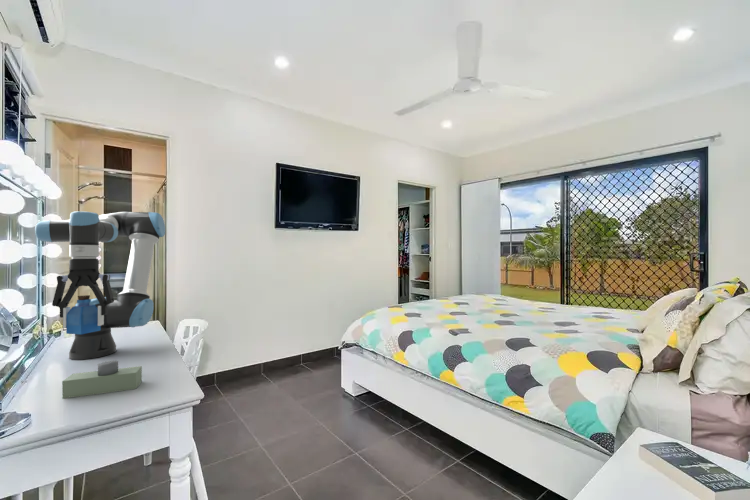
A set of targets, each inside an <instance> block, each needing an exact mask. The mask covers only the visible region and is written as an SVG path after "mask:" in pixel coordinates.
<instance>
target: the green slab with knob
mask: <svg viewBox="0 0 750 500" xmlns="http://www.w3.org/2000/svg"><path fill="white" fill-rule="evenodd" d="M142 370H143V367H142V365H141V366H140V365H139V366H132V367H122V368H119V360H108V361H103V362H100V363H98V364H97V370H95V371H86V372H77V373H76V372H75V373H72V374H70V375H69V376H67V377H66V378H65V379H63V380H62V385H61V387H62V388H61V389H62V392H61V393H62V397H61V398H62V399H69V398H76V397H82V396H83V397H85V396H91V395H99V394H108V393H114V392H121V391H123V392H124V391H129V390H137V388H138V387H139V386H140V384H141V383H142V381H143V380H142V379H143V378H142V377H143V376H142V375H143V373H142V372H143V371H142Z"/></svg>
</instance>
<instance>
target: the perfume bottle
mask: <svg viewBox="0 0 750 500" xmlns="http://www.w3.org/2000/svg"><path fill="white" fill-rule="evenodd" d="M90 297H91V295H88V294H87V295H78V296H77V299H76V303H78V306H75V305H73V306H72V307H70V311H69V312H68V313H67V328H65V329H66V332H65V334H66V335H67V334H69V335H75V334H86V333H90V332H95V331H100V330H101V326H98V308H97V307H96V306H95V305H90V302H91V299H92V298H90Z"/></svg>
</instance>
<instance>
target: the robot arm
mask: <svg viewBox="0 0 750 500" xmlns="http://www.w3.org/2000/svg"><path fill="white" fill-rule="evenodd" d="M34 233H35V237H36V238H37V239H38V240H39V241H41V242H43V243H44V242H45V243H47V242H49V243H67V242H68V243H69V247H68V248H69V252H68V253H69V255H68V256H69V258H70V259H69V260H68V270H69V272H68V274H66V275H57V276H56V281H57V285H56V289H55V291H54V295H53V299H52V303H51V305H52V306H53V307H58V308H59V318H62V328H63V329H66V328H67V313H68V312H69V311H70V309H71V306H69V303H70V302H71V300H72V298H73V297H74V296H75V295H74V294H75V293H76V292H77V289H78V288H79V287H89V289H91V291H92V292H93V294H94V296H95V298H90V299H91V302H90V305H95V306H96V307H97V308H98V326H101V330H100V331H95V332H90V333H86V334H74V340H73V342H72V344H71V347H70V349H69V353H68V358H69V360H89V359H94V358H95V359H96V358H100V357H106V356H109V355H112V354H114V353H116V352H117V345H116V342H115V340H114V337H113V335H112V329H118V328H120V329H121V328H135V327H144V326H146V325H147V324H148V323H149V322H150V320H151V318H152V317H153V313H154V309H155V307H154V305H155V304H154V301H153V300H152V299H151V298H150V297H151V295H149V294H148V293H147V290H148V287H149V286H148V285H149V278H150V272H151V268H152V262H153V261H152V260H153V255H154V249H155V245H156V244H157V243H159V241H160V238H163V237H165V234H166V225H165V220H164V218H163V215H161V214H160V213H159V212H152V211H147V212H145V211H144V212H143V211H118V212H112V213H111V212H110V213H106V214H105V213H103V214H100V215H99V214H98V213H97V212H92V211H77V210H76V211H72V212H70V214H69V219H64V220H61V219H60V220H51V219H48V220H41V221H40V220H39V222H37V223H36V225H35V227H34ZM118 237H123V238H125V237H128V239H129V240H130V241H131V246H130V252H129V257H128V261H127V262H128V263H127V266H126V267H127V268H126V271H125V272H126V273H125V276H124V281H123V282H124V283H123V288H122V291H121V292H119V293H117V296H116V299H114V294H113V291H112V287H111V282H110V279H111V275H110V274H109V273H107V274H101V273H100V271H99V269H100V260H99V258H98V257H100V249H99V248H100V244H99V243H110V242H113V241H115V240H116V239H117V238H118ZM99 278H100V281H101V282H102V287H103V291H104V294H103V292H102V291H101V289H100V287H99V284H98V282H97V281H98V279H99ZM68 279H69V280H70V282H71V283H70V284H69V287H68V290H67V291H66V293H65V295H64V292H65V288H66V285H67V281H68ZM63 296H64V297H63ZM74 306H78V303H77V302H76V303H75V305H74Z"/></svg>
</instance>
